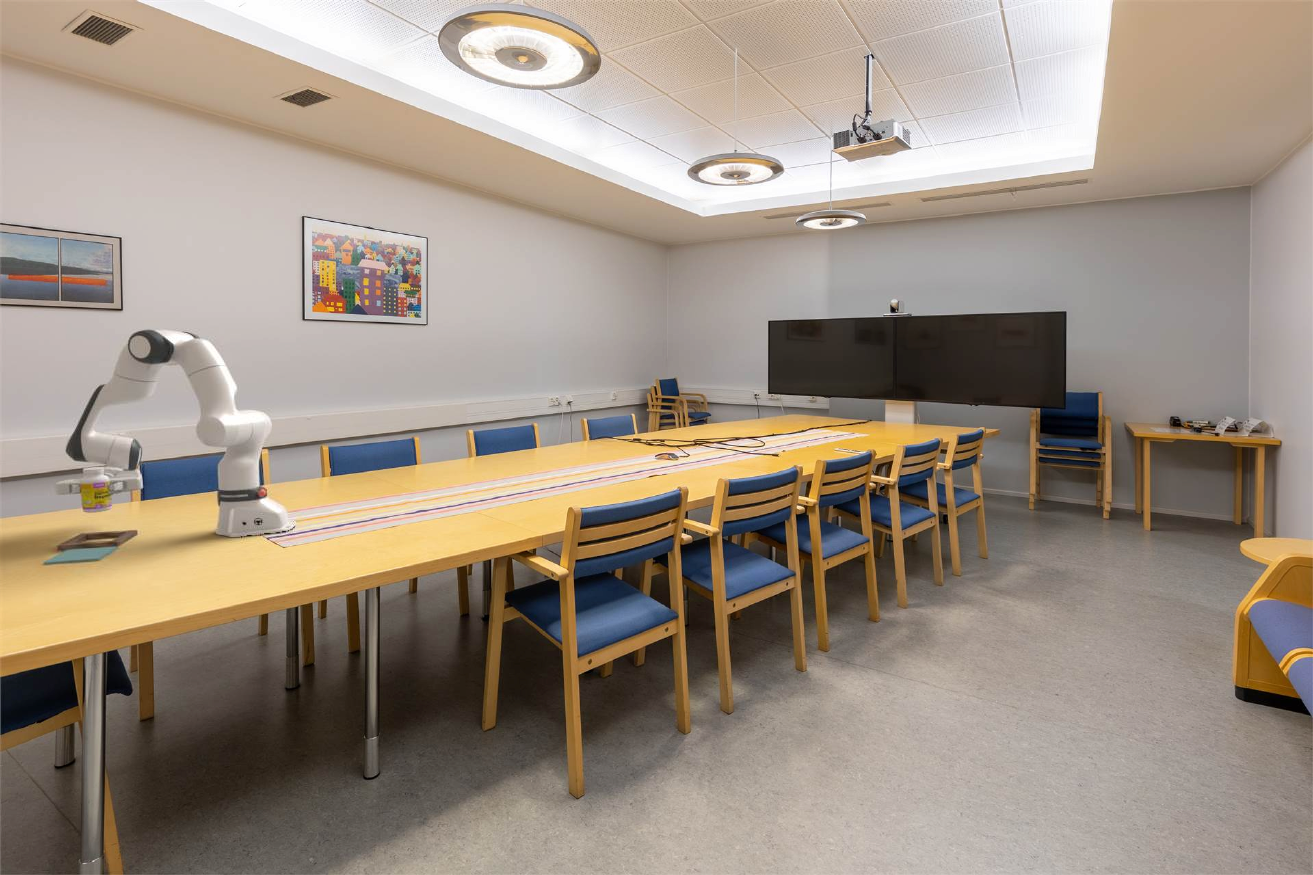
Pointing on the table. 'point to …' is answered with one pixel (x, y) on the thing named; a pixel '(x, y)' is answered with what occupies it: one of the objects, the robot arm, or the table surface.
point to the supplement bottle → (95, 490)
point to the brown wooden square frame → (78, 544)
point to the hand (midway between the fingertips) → (94, 489)
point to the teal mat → (81, 555)
